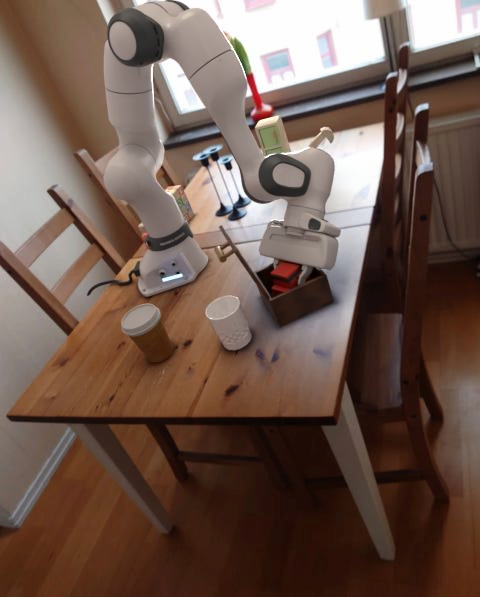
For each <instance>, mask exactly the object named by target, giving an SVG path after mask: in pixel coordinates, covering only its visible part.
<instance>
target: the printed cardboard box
mask: <svg viewBox="0 0 480 597" xmlns="http://www.w3.org/2000/svg"><path fill="white" fill-rule="evenodd" d="M164 190H165V191H166V192H168V193H171V194H172V195H173V196H174V198H175V200H176V202H177V204H178V207H179V209H180V211H181V213H182V215H183V217H184V218H185V219H186V220H187V222H188V223H189V222H190V221H191V220H192V219H193V218H194V217H195V215H196V214H195V212H194V210H193V208H192V206H191V203H190V201H189V199H188V196H187V194H186V192H185V189H184V188H183V185H182V184H180V185H179V184H178V185H171V186H167V187H166V188H165V189H164ZM137 228H138V230H139V232H140V234H141V235H142V234H143V233H146V234H148V233H147V231H146V229H145V227H144V225H143V223H142V222H141V223H140V224H139V225H138V226H137Z"/></svg>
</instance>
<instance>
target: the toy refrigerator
mask: <svg viewBox="0 0 480 597" xmlns="http://www.w3.org/2000/svg"><path fill="white" fill-rule="evenodd" d="M254 131H255V133H256V137H257V140H258V142H259V147H260V150H261V152H262V154H263V155H264V156H265V157H266V156H268V155H271V154H275V153H292V150H291V146H290V143H289V140H288V136H287V133H286V130H285V126H284V123H283V120H282V115H280V114H279V115H275V116H271V117H267V118H264V119H260V120H258V121H257V124H256V125H255V127H254Z"/></svg>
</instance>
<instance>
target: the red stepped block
mask: <svg viewBox="0 0 480 597" xmlns="http://www.w3.org/2000/svg"><path fill="white" fill-rule="evenodd" d="M302 272H303V270H301V268H300V266H299V265H296V264H292V263H287V262H282V263H281V264H279V265H278V266H277V267H276V268H275V269H274V270H273V271H272V272H271V273H270V274H271V277H272V279H273V282H274V284H275V285H274V286H273V287H272V288H271V289H272V292H273V294H274V297H275V296H277V295H280V294H282V293H284V292H286V291H288V290H290V289H293V288H295V287H297V286H299V285H297V284H295V281H296V276H297V277H299V276H300V274H301V273H302ZM310 280H311V278H310V275H309V276H308V277H307V278H306V280H305V282H308V281H310Z"/></svg>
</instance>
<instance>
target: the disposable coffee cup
mask: <svg viewBox="0 0 480 597" xmlns="http://www.w3.org/2000/svg"><path fill="white" fill-rule="evenodd" d="M120 325H121V332H122V333H123V334H125V335H126V336H128V337H129V338H130V340H131V341H132V342H133V343H134V345H136V346H137V348H138V349H139V350H140V351H141V352H142V353H143V354H144V355H145V357H146V358H147V359H148V360H149V361H150V362H152V363H159V362H162V361H165V360H167V359H168V358H169V356H171V355H172V353H173V350H174V347H173V344H172V342H171V338H170V336H169V334H168V332H167V329H166V326H165V323H164V321H163V319H162V315H161V310H160V308H159V307H157V306H156V305H154V304H153V303H147V302H146V303H142V304H138V305H136V306H134V307H133V308H130V310H128V311H127V312H126V313H125V314H124V316H123V317H122V319H121V321H120Z"/></svg>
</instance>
